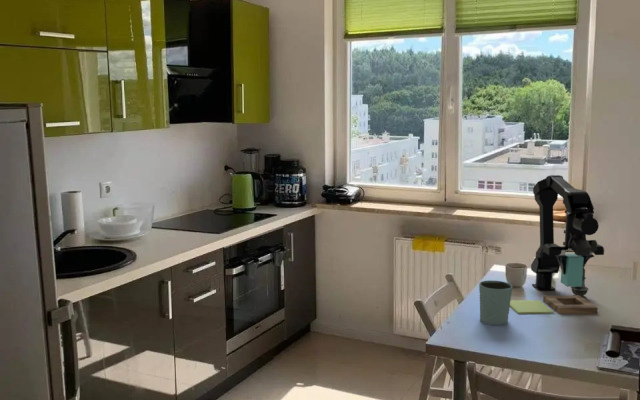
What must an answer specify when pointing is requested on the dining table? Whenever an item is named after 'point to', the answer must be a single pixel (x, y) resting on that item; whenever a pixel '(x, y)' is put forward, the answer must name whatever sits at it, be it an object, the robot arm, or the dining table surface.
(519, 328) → the dining table surface
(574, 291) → the dark grey upright piece
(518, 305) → the olive mat
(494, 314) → the green cup
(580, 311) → the frame
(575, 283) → the teal peg
